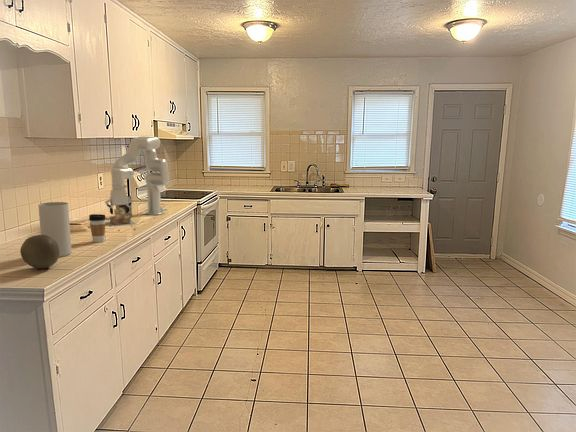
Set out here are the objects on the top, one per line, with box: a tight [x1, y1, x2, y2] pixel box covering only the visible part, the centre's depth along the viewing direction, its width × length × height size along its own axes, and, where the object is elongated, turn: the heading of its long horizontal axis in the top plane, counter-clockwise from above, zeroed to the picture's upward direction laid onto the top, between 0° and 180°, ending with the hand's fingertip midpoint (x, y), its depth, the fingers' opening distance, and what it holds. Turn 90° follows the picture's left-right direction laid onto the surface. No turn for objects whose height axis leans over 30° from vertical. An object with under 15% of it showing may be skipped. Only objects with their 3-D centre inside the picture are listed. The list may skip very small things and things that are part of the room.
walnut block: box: [109, 215, 131, 225], centre depth 275 cm, size 10×10×4 cm
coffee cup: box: [88, 213, 107, 244], centre depth 231 cm, size 8×8×15 cm
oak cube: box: [113, 208, 125, 218], centre depth 275 cm, size 5×5×5 cm
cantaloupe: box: [19, 234, 60, 270], centre depth 180 cm, size 14×14×15 cm
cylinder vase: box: [37, 201, 72, 258], centre depth 202 cm, size 12×12×25 cm
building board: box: [105, 219, 137, 228], centre depth 275 cm, size 17×17×2 cm
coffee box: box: [115, 195, 133, 218], centre depth 298 cm, size 9×6×16 cm
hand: (119, 213), depth 274 cm, fingers open, 9 cm apart
